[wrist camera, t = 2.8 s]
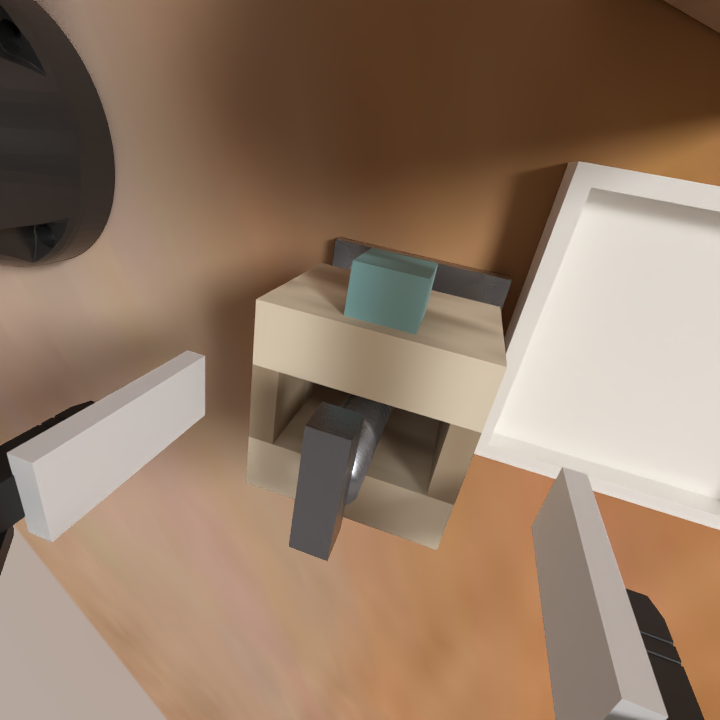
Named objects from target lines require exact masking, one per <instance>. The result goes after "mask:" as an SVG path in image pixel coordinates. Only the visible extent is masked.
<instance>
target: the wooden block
mask: <svg viewBox="0 0 720 720" xmlns="http://www.w3.org/2000/svg"><path fill="white" fill-rule="evenodd" d="M663 1H665V2H667V3H669V4H670V5H672V6H674V7H675V8H677V9H679V10H681V11H682V12H684V13H686V14H687V15H689V16H691V17H693V18H694V19H696V20H698V21H700V22H701V23H703V24H705V25H706V26H708V27H710V28H712V29H713V30H715V31H717V32H719V33H720V0H663Z"/></svg>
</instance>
